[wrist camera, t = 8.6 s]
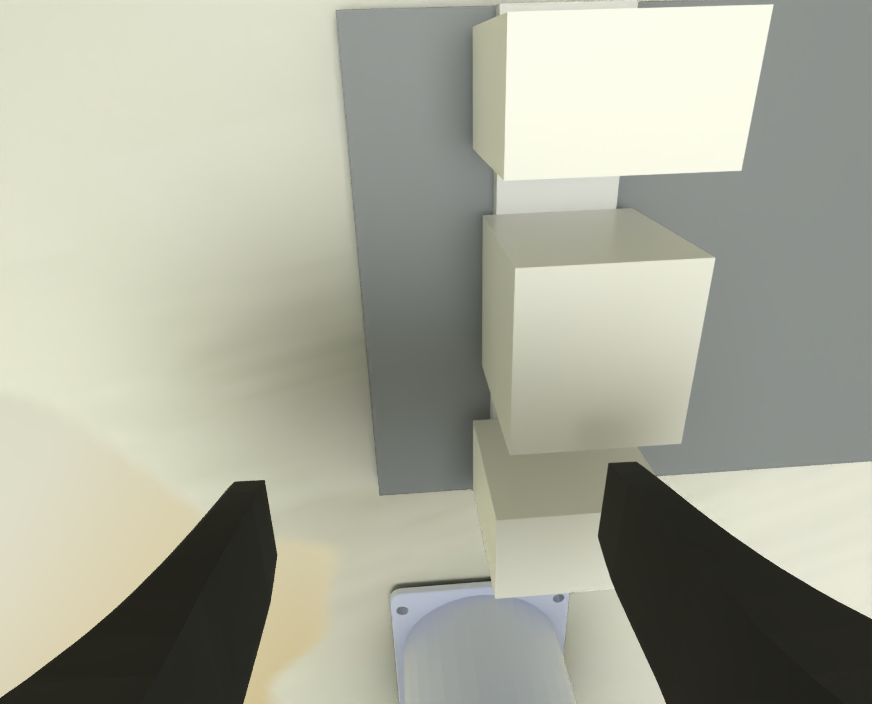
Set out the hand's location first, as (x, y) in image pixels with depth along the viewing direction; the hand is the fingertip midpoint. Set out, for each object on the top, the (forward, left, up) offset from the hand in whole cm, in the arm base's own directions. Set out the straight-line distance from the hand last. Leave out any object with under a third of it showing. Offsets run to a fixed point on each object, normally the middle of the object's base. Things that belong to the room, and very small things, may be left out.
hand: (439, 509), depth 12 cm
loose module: (+2, -4, -8) cm, 9 cm away
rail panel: (+2, -8, -9) cm, 12 cm away
